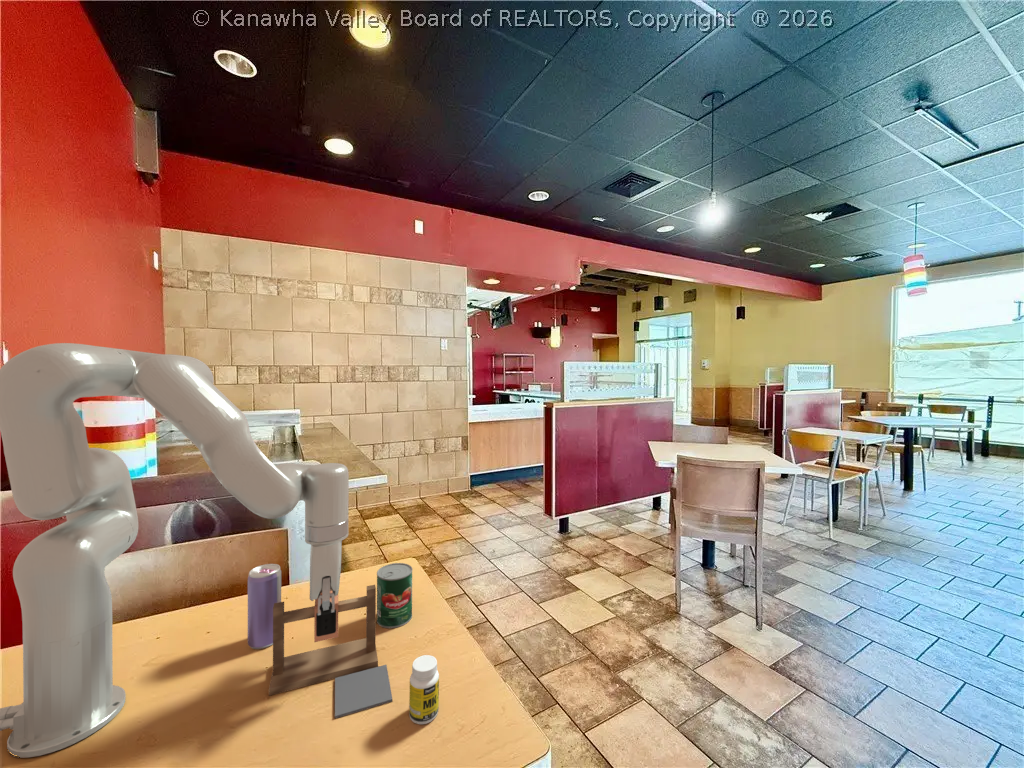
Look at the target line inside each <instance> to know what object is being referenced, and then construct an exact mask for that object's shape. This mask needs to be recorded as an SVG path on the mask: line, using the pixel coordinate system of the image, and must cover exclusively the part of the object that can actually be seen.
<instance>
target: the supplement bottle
mask: <svg viewBox="0 0 1024 768" xmlns="http://www.w3.org/2000/svg"><path fill="white" fill-rule="evenodd" d="M411 666H412V667H411V668H412V670H411V674H410V677H409V701H408V703H409V706H408V708H409V710H408V714H409V719H410V720H411V722H413V723H414V724H417V725H426V724H429V723H431V722H432V721H433V720H435V719H436V717H437V715H438V713H439V709H440V708H439V703H440V702H439V701H440V700H439V698H440V697H439V695H440V692H439V691H440V674H439V670H438V660H437V658H436V657H435V656H433V655H428V654H424V655H421V656H418V657H416V658H415V659H414V660H413V661H412V665H411Z"/></svg>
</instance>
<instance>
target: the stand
mask: <svg viewBox="0 0 1024 768" xmlns="http://www.w3.org/2000/svg"><path fill="white" fill-rule="evenodd" d="M360 608H361V609H362V608H366V616H365V617H366V618H365V619H366V621H365V622H366V623H365V625H366V629H365V631H366V632H365V633H366V634H365V635H366V637H365V638H361V639H360V638H359V639H355V640H352V641H348V642H344V643H340V644H339V643H337V644H334V645H331V646H330V645H329V646H326V647H322V648H318V649H314V650H309V651H305V652H301V653H296V654H292V655H287V656H285V624H288V623H292V622H293V623H294V622H298V621H304V620H308V619H312V618H313V619H314V614H315V605H312V606H308V607H302V608H297V609H291V610H287V611H285V601H281V602H279V603H274V606H273V645H272V672H271V677H270V682H269V688H268V696H272V695H276V694H280V693H281V694H282V693H284V692H287V691H288V692H289V691H292V690H293V691H294V690H296V689H300V688H303V687H308V686H311V685H315V684H319V683H322V682H326V681H330V680H335V678H337V677H341V676H345V675H349V674H352V673H356V672H360V671H364V670H367V669H371V668H375V667H379V659H378V652H377V651H378V650H377V644H376V631H377V629H376V626H377V625H376V624H377V623H376V622H377V586H376V584H372V585H366V595H364V596H359V597H354V598H350V599H343V600H338V613H342V612H347V611H351V610H357V609H360Z"/></svg>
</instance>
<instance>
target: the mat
mask: <svg viewBox="0 0 1024 768" xmlns="http://www.w3.org/2000/svg"><path fill="white" fill-rule="evenodd" d="M387 665H388V664H383V665H380V666H379V665H378V667H375V668H371V669H367V670H364V671H360V672H356V673H352V674H349V675H345V676H341V677H337V678H334V718H335V719H339V718H341V717H345V716H348V715H352V714H355V713H358V712H362V711H365V710H368V709H373V708H375V707H378V706H382V705H385V704H389V703H391V702H393V694H392V689H391V683H390V677H389V671H388V666H387Z"/></svg>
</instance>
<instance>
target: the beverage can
mask: <svg viewBox="0 0 1024 768" xmlns="http://www.w3.org/2000/svg"><path fill="white" fill-rule="evenodd" d="M279 602H282V570H281V566H280V565H279V564H277V563H265V564H261V565H258V566H256V567H254V568H252V569H251V570H249V572H248V576H247V645H248V646H249V648H251V649H252V650H262V649H265V648H269V647H272V646H273V606H274V603H279Z"/></svg>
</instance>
